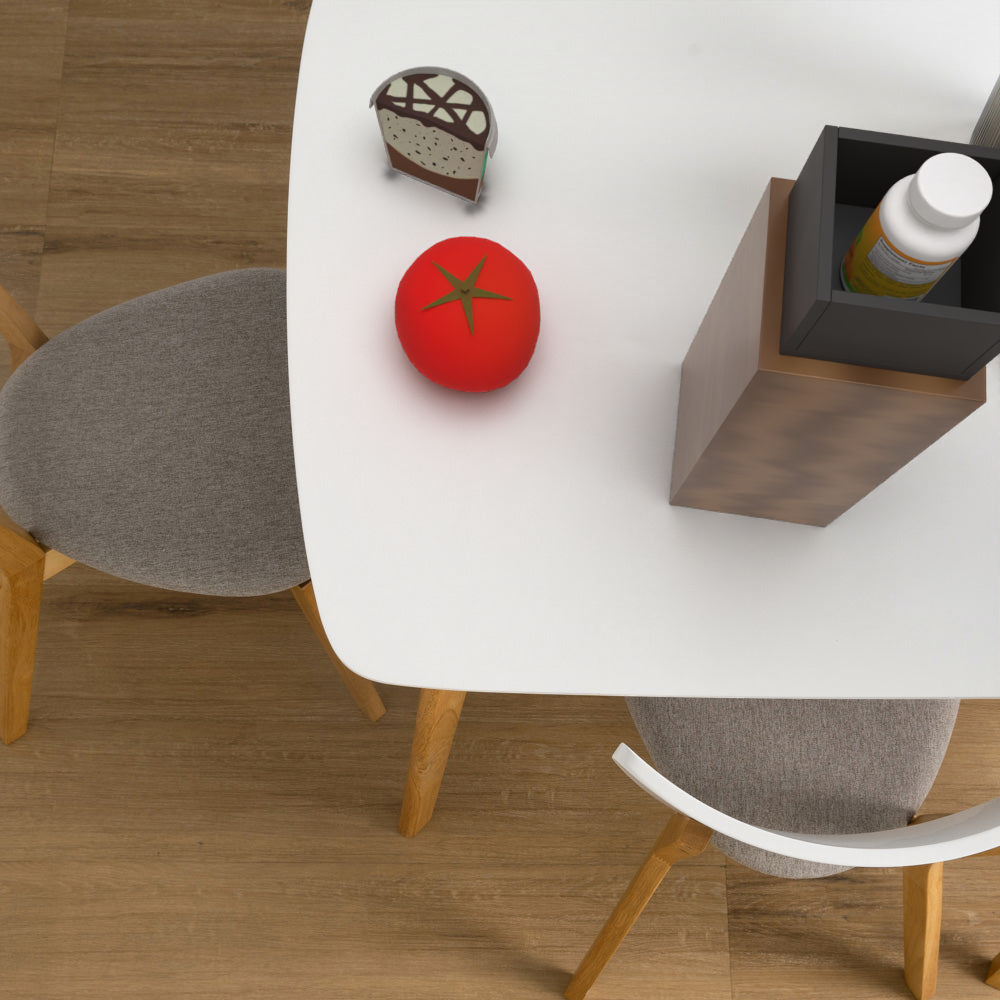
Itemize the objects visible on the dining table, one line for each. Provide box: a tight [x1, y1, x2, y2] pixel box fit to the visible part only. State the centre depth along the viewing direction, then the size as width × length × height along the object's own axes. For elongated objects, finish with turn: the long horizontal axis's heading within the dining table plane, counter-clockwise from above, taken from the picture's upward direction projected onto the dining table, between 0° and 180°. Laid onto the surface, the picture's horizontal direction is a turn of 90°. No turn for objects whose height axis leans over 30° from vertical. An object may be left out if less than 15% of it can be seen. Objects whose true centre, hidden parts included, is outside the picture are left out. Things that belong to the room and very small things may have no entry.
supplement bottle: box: [840, 153, 992, 302], centre depth 55 cm, size 5×5×10 cm
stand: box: [668, 176, 987, 528], centre depth 74 cm, size 14×14×28 cm
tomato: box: [394, 235, 542, 393], centre depth 85 cm, size 14×13×10 cm
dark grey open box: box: [779, 124, 1000, 381], centre depth 58 cm, size 12×12×7 cm
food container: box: [368, 65, 499, 205], centre depth 91 cm, size 12×6×10 cm, turn 65°
